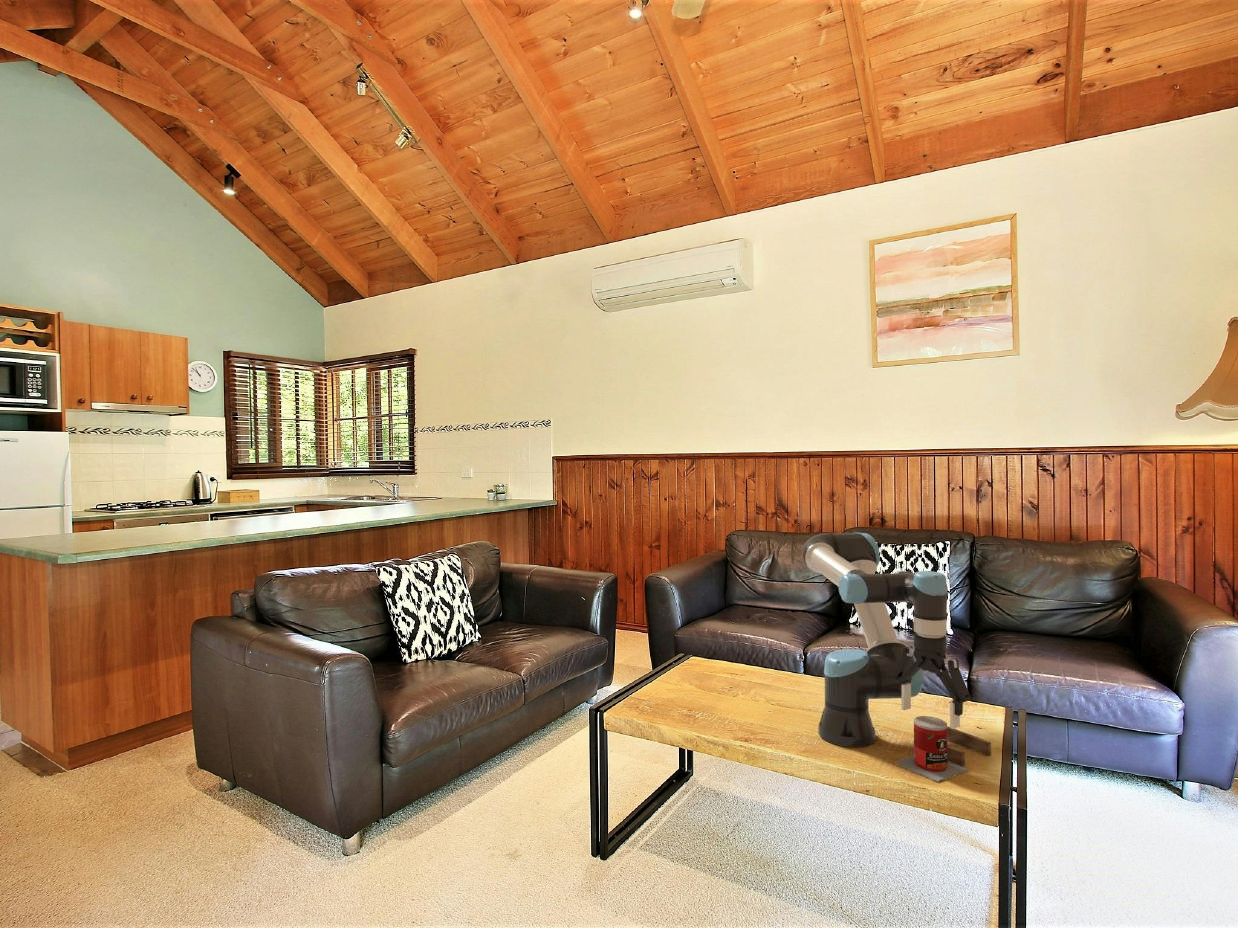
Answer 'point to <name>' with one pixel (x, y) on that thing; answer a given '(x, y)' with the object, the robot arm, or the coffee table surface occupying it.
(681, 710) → the coffee table surface
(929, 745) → the canned food
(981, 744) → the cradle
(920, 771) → the mat
